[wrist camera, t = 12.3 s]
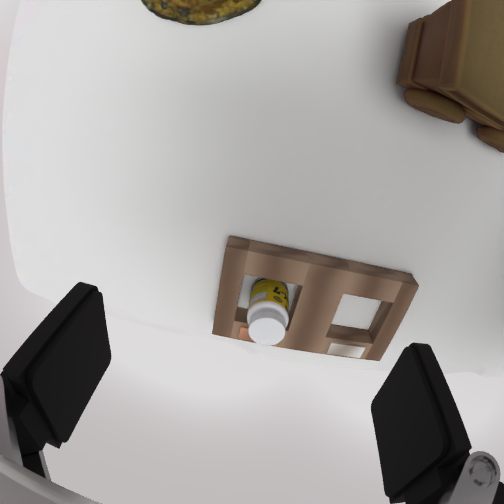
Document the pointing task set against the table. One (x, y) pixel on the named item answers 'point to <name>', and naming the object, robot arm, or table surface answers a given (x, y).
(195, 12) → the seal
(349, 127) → the table surface
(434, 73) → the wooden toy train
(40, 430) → the robot arm
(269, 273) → the socket block
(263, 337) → the supplement bottle
